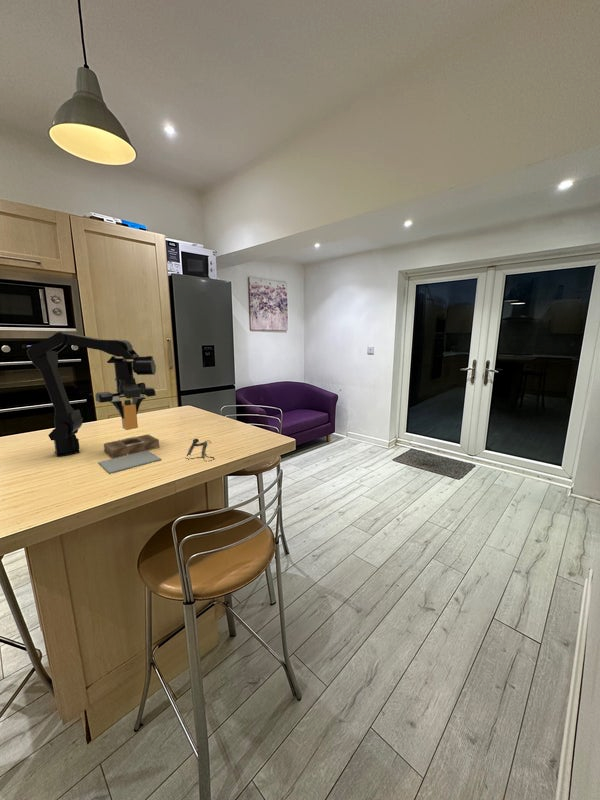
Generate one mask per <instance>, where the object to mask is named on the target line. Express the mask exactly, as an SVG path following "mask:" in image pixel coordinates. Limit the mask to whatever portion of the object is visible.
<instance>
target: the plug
mask: <svg viewBox="0 0 600 800" xmlns="http://www.w3.org/2000/svg"><path fill="white" fill-rule="evenodd" d="M123 402H124V403H122V409H123V414H124V419H122V418H121V425H122V426H121V427H122V429H123V430H125V431H130V430H134V429H139V424H138V412H137V413H136V404H133V402H132V401H131V399H125V400H124V401H123Z"/></svg>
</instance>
